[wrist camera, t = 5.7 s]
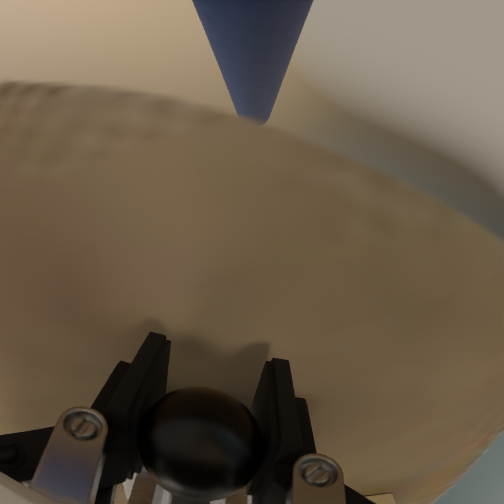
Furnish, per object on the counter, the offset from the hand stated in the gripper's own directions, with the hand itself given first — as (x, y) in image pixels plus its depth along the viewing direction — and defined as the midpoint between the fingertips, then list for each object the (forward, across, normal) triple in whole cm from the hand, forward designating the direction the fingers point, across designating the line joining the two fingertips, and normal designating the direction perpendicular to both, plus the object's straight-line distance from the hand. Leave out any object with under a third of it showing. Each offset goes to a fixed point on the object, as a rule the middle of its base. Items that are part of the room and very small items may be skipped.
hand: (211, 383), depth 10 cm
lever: (-4, 0, +5) cm, 6 cm away
